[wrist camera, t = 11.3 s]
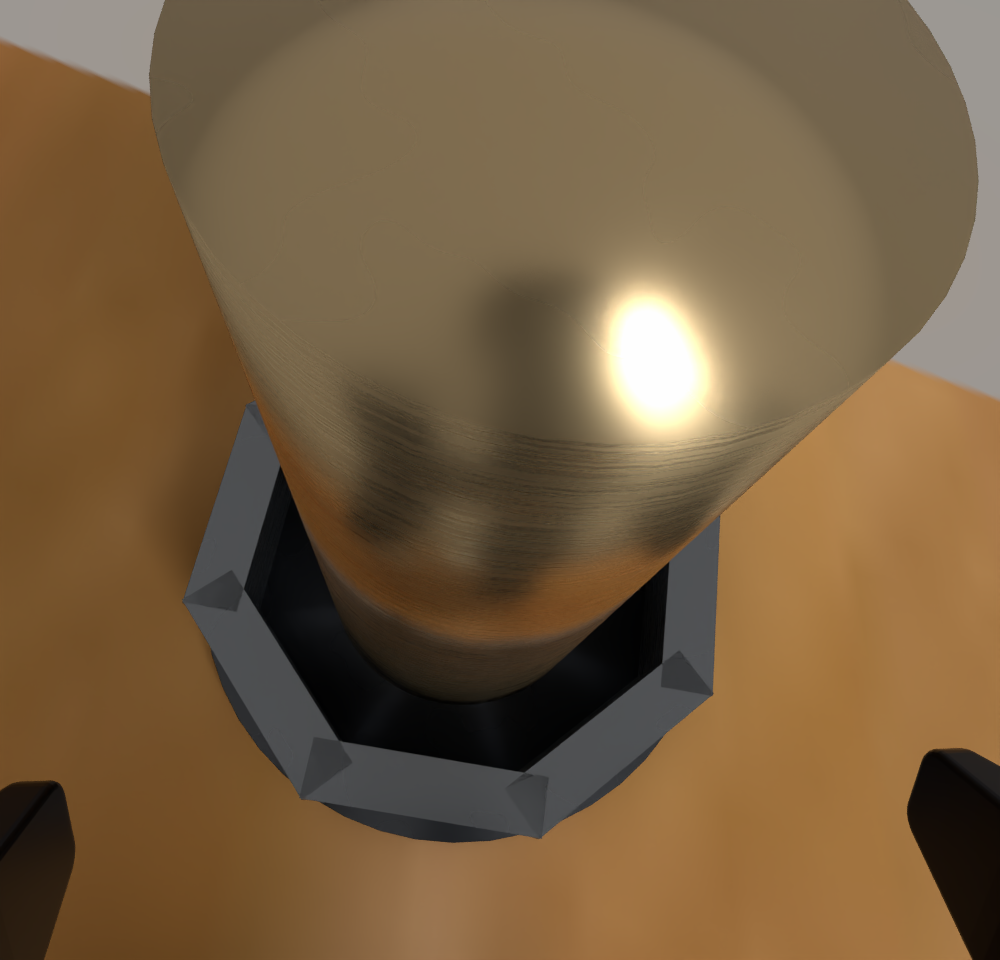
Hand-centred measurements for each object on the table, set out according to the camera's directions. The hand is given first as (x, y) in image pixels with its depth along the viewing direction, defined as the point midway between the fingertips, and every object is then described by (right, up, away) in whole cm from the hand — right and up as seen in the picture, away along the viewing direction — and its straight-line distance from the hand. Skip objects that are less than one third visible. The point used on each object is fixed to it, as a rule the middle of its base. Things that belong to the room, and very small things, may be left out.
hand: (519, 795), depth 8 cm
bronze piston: (-1, +1, +9) cm, 9 cm away
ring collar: (-1, +1, +9) cm, 9 cm away
